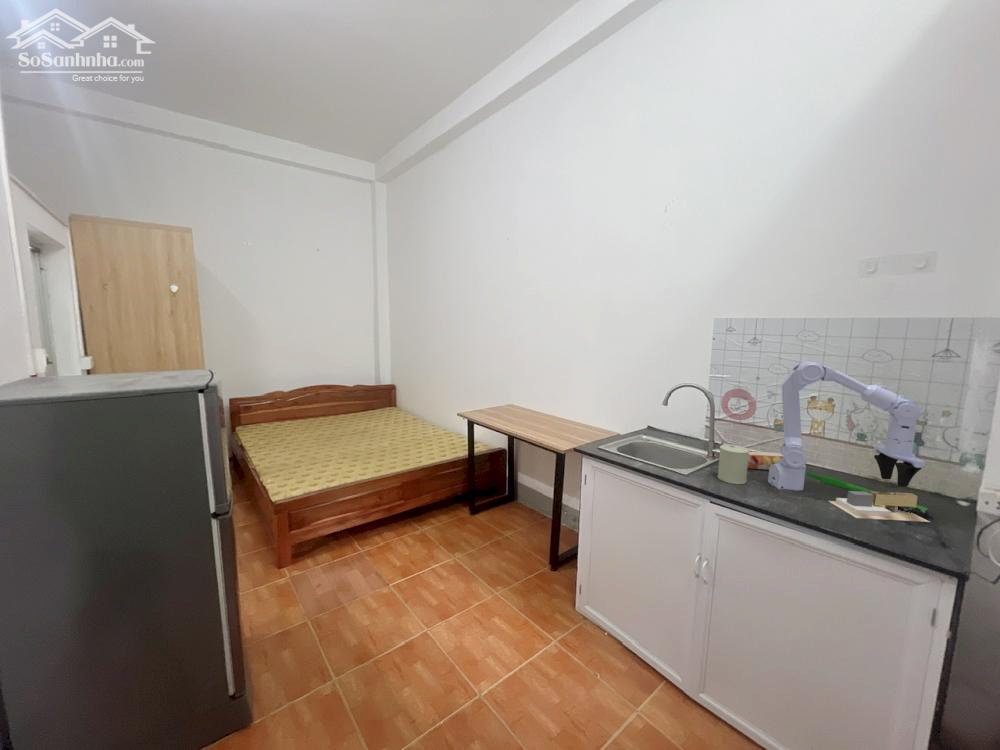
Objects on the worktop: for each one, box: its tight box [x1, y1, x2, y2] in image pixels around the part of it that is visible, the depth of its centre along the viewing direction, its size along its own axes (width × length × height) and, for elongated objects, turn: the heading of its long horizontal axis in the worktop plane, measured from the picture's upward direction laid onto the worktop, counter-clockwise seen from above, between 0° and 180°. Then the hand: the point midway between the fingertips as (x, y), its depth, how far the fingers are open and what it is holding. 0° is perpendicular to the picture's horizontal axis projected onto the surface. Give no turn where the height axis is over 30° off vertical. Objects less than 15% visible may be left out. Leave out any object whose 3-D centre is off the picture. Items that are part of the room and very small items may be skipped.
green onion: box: [806, 471, 929, 512], centre depth 128 cm, size 5×3×30 cm
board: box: [828, 500, 931, 523], centre depth 115 cm, size 19×11×3 cm, turn 84°
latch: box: [870, 490, 918, 508], centre depth 114 cm, size 11×2×4 cm, turn 84°
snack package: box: [747, 451, 783, 471], centre depth 154 cm, size 21×7×7 cm, turn 77°
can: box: [717, 444, 750, 485], centre depth 141 cm, size 9×9×12 cm
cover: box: [835, 490, 891, 517], centre depth 115 cm, size 9×8×5 cm
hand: (894, 482), depth 119 cm, fingers open, 5 cm apart
